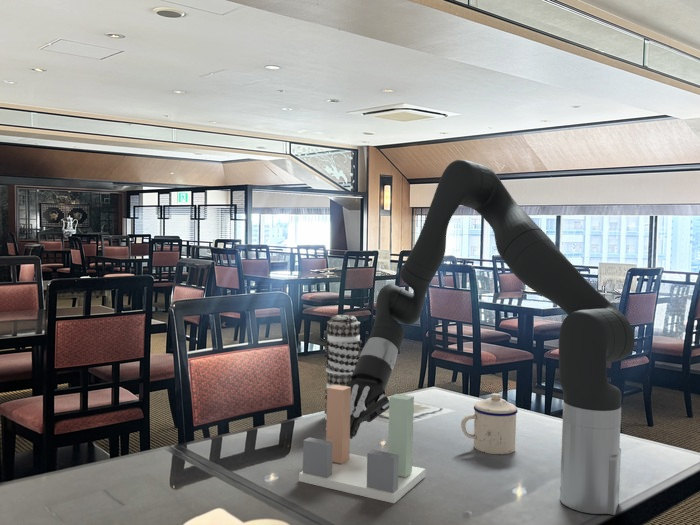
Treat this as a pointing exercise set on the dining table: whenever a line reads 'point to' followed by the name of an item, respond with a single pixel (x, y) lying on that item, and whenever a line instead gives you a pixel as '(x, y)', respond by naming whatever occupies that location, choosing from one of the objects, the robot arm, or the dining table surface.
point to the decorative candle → (341, 350)
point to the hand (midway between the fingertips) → (346, 436)
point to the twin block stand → (357, 472)
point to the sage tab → (401, 431)
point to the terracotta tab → (339, 421)
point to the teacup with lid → (493, 425)
